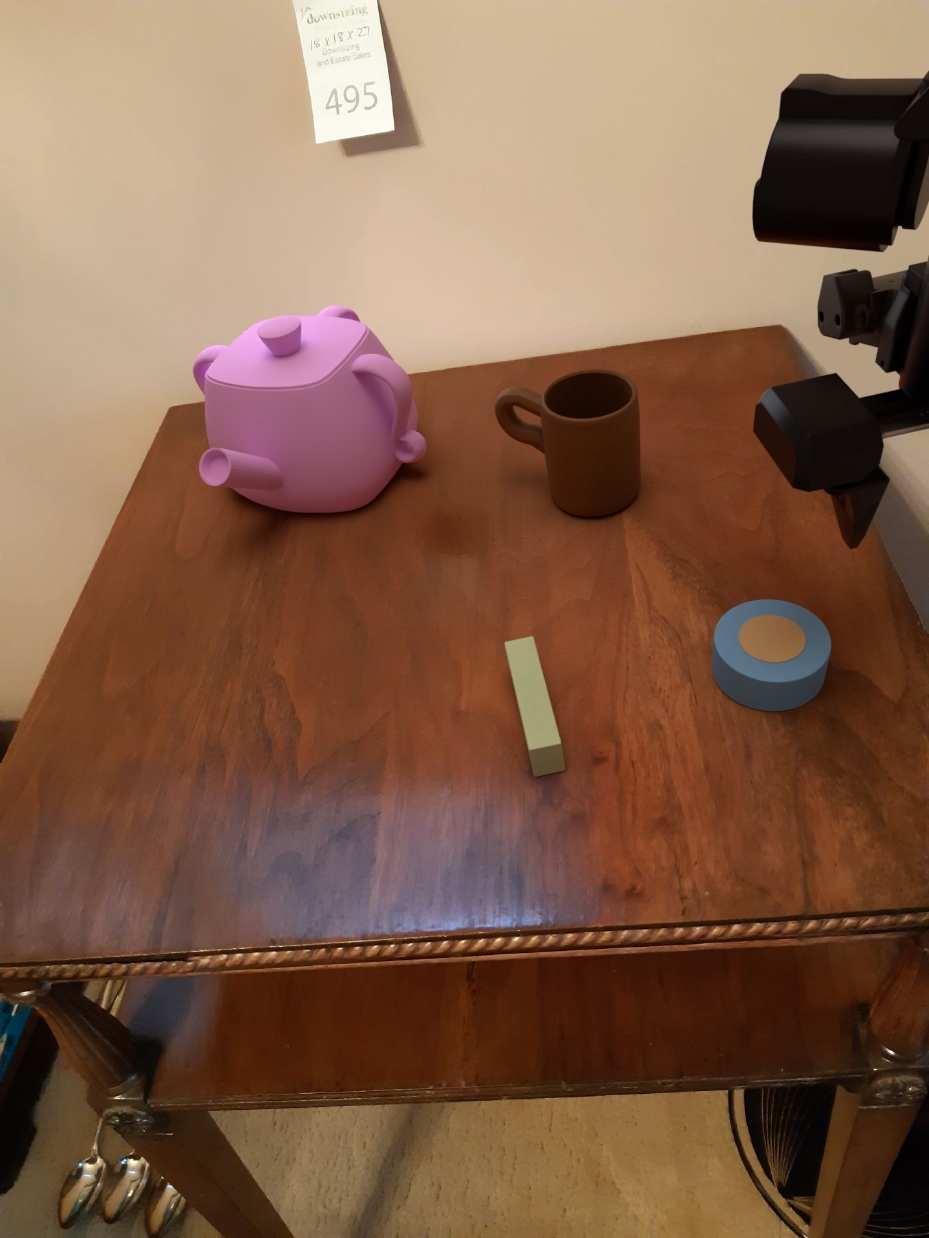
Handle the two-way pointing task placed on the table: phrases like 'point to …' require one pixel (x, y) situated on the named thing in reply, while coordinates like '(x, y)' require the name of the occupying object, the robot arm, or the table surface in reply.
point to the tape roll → (770, 654)
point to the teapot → (306, 413)
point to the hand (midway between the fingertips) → (920, 528)
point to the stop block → (534, 707)
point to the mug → (582, 437)
